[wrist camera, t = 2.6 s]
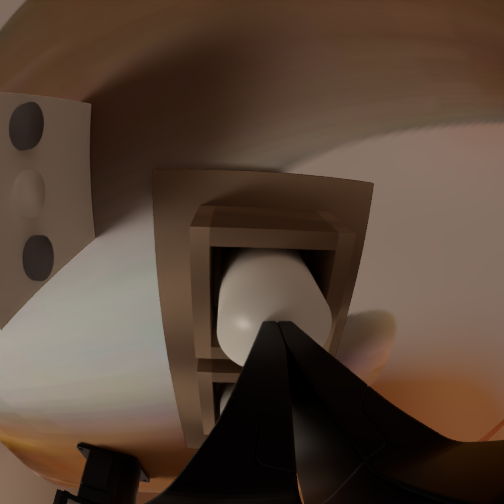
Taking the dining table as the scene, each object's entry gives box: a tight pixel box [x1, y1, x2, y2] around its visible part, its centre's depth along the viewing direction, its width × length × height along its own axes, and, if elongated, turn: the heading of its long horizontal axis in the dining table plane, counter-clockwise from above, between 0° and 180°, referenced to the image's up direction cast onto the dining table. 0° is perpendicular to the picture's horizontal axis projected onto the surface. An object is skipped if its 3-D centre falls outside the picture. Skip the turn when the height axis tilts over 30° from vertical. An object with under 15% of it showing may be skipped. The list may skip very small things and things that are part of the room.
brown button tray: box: [153, 169, 374, 449], centre depth 13 cm, size 20×9×3 cm, turn 177°
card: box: [0, 92, 95, 330], centre depth 7 cm, size 6×1×7 cm, turn 177°
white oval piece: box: [217, 247, 332, 366], centre depth 10 cm, size 3×3×4 cm
